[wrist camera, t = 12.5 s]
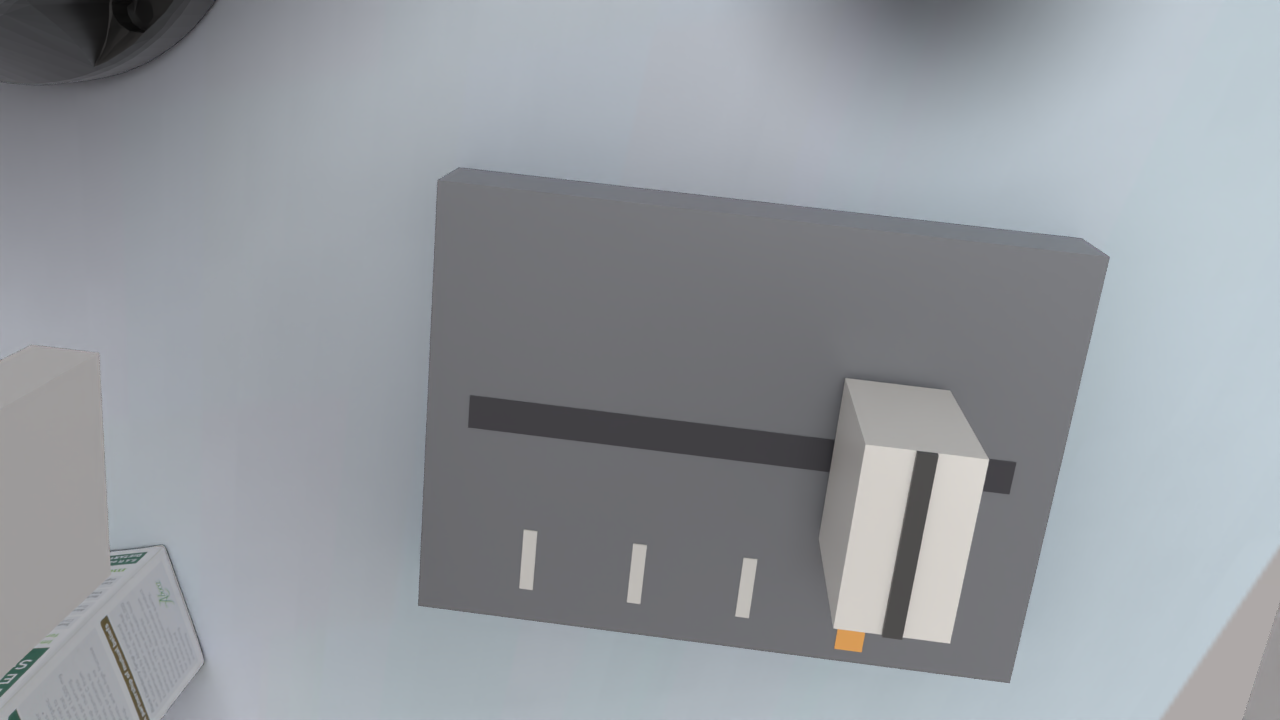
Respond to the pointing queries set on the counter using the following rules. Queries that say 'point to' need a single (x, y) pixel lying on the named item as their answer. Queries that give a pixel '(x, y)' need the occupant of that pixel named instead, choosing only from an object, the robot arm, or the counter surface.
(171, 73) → the counter surface
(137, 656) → the syrup box
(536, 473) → the console board
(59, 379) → the robot arm
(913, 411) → the fader tab
